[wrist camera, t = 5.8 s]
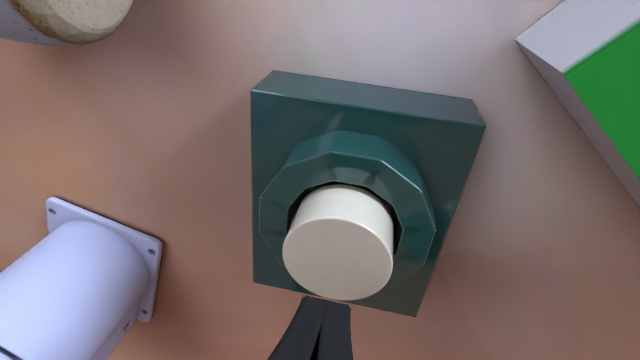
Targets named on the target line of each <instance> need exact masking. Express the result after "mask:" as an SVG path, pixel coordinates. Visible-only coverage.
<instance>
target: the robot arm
mask: <svg viewBox="0 0 640 360" xmlns="http://www.w3.org/2000/svg"><path fill="white" fill-rule="evenodd" d="M45 206H46V216H47V225H48V234H49V235H48V236H46V237H45V238H44V239H42V240H41V241H40V242H39V243H37V244H36V245H35V246H34V247H32V248H31V249H30V250H28V251H27V252H26V253H25V254H23V255H22V256H21V257H20V258H18V259H17V260H16V261H14V262H13V263H12V264H11V265H9V266H8V267H7V268H6V269H4V270H3V271H2V272H0V360H107V358H108V357H109V356H110V354H111V353H112V351H113V350H114V349H115V347H116V346H117V345H118V343H119V342H120V341H121V339H122V338H123V336H124V335H125V334H126V332H127V331H128V330H129V328H130V327H131V326H132V324H133V323H134V321H135V320H139V321H141V322H144V323H148V322H149V321H150V320H151V318H152V313H153V307H154V300H155V293H156V287H157V280H158V274H159V267H160V261H161V254H162V248H163V245H162V243H161V241H160V240H158V239H156V238H154V237H151V236H149V235H146V234H144V233H141V232H139V231H136V230H134V229H132V228H129V227H127V226H124V225H122V224H119V223H117V222H114V221H112V220H109V219H107V218H105V217H102V216H100V215H97V214H95V213H92V212H90V211H87V210H85V209H82V208H80V207H78V206H75V205H73V204H70V203H68V202H65V201H63V200H60V199H58V198H55V197H50V198H49V199H47V200H46V201H45ZM350 313H351V308H350V307H349V306H348V305H346V304H341V303H337V302H332V301H328V300H323V299H318V298H314V297H309V296H306V297H303V298H302V300H301V303H300V305H299V307H298V309H297V311H296V313H295V315H294V317H293V319H292V321H291V323H290V325H289V326H288V328H287V330H286V331H285V333H284V335H283V336H282V338H281V340H280V341H279V343H278V344H277V346H276V347H275V349H274V350H273V352H272V353H271V355H270V357H269V358H268V360H353V354H352V344H351V329H350Z"/></svg>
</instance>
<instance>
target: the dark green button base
mask: <svg viewBox="0 0 640 360" xmlns="http://www.w3.org/2000/svg"><path fill="white" fill-rule="evenodd" d="M485 129H486V125H485V123H484V121H483V119H482V117H481V115H480V113H479V111H478V109H477V107H476V105H475V103H474V102H473V100H472V99H466V98H459V97H452V96H445V95H439V94H432V93H425V92H418V91H411V90H405V89H398V88H391V87H384V86H377V85H371V84H364V83H357V82H350V81H343V80H337V79H330V78H323V77H316V76H309V75H302V74H296V73H289V72H282V71H275V70H273V71H272V72H270V73H269V74H268V75H267V76H266V77H265V78H264V79H262V80H261V81H260V82H259V83H258V84H257V85H256V86H254V87H253V88H252V89H251V156H252V229H253V282H254V283H259V284H264V285H268V286H273V287H278V288H282V289H287V290H292V291H296V292H301V293H305V294H310V295H315V296H319V295H316V294H314V293H312V292H310V291H308V290H307V289H305V288H304V287H302V286H301V285H300V284H298V283H297V282H296V281H295V280H294V279H293V278H292V276H291V275H290V274H289V272H288V270H287V269H286V267H285V264H284V261H283V256H282V248H283V243H284V240H285V238H286V235H287V233H288V230H289V228H290V225H291V223H292V221H293V218H294V216H295V213H296V211H297V208H298V206H299V204H300V203H301V201H302V200H303V199H304V198H305V197H306V196H307V195H308V194H310V193H311V192H312V191H314V190H316V189H318V188H321V187H324V186H328V185H335V184H344V185H351V186H355V187H359V188H362V189H364V190H366V191H368V192H370V193H372V194H373V195H375V196H376V197H377V198H378V199H380V200H381V201H382V202H383V203H384V205H385V206H386V207H387V209H388V210H389V212H390V214H391V216H392V219H393V224H394V244H393V270H392V274H391V276H390V279H389V280H388V282H387V283H386V284H385V286H384V287H383V288H382V289H380V290H379V291H378V292H376V293H375V294H373V295H371V296H369V297H366V298H363V299H358V300H350V301H343V302H347V303H352V304H357V305H361V306H366V307H370V308H375V309H380V310H384V311H389V312H394V313H398V314H403V315H408V316H412V317H416V316H417V314H418V311H419V308H420V305H421V303H422V300H423V297H424V295H425V292H426V289H427V286H428V284H429V281H430V278H431V275H432V273H433V270H434V267H435V265H436V262H437V259H438V256H439V254H440V251H441V248H442V246H443V243H444V240H445V237H446V235H447V232H448V229H449V227H450V224H451V221H452V218H453V216H454V213H455V210H456V208H457V205H458V202H459V199H460V197H461V194H462V191H463V189H464V186H465V183H466V180H467V178H468V175H469V172H470V170H471V167H472V164H473V161H474V159H475V156H476V153H477V151H478V148H479V145H480V142H481V140H482V137H483V134H484V131H485ZM319 297H322V296H319ZM324 298H325V297H324ZM338 301H342V300H338Z"/></svg>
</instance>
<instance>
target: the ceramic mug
mask: <svg viewBox="0 0 640 360" xmlns="http://www.w3.org/2000/svg"><path fill="white" fill-rule="evenodd" d="M132 3H133V0H0V38H5V39H10V40H16V41H22V42H28V43H34V44H42V45H85V44H89V43H93V42H96V41H99V40H102V39H104V38H106V37H107V36H109V35H110V34H112V33H113V32H114V31H115V29H116V28H117V27H118V26H119V25H120V24H121V23H122V21H123V20H124V19H125V17H126V15H127V13H128V12H129V10H130V8H131V6H132Z"/></svg>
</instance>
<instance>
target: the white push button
mask: <svg viewBox="0 0 640 360" xmlns="http://www.w3.org/2000/svg"><path fill="white" fill-rule="evenodd" d="M393 244H394V224H393V219H392V216H391V214H390V212H389V210H388V209H387V207H386V206H385V205H384V203H383V202H382V201H381V200H380V199H378V198H377V197H376V196H375V195H373V194H372V193H370V192H368V191H366V190H364V189H362V188H359V187H355V186H351V185H344V184H335V185H328V186H324V187H321V188H318V189H316V190H314V191H312V192H311V193H310V194H308V195H307V196H306V197H305V198H304V199H303V200H302V201H301V203H300V204H299V206H298V208H297V211H296V213H295V216H294V218H293V221H292V223H291V225H290V228H289V230H288V233H287V235H286V238H285V240H284V243H283V248H282V256H283V261H284V264H285V267H286V269H287V270H288V272H289V274H290V275H291V276H292V278H293V279H294V280H295V281H296V282H297V283H298V284H300V285H301V286H302V287H304V288H305V289H307V290H308V291H310V292H312V293H314V294H316V295H319V296H322V297H325V298H328V299H333V300H342V301H350V300H358V299H363V298H366V297H369V296H371V295H373V294H375V293H376V292H378V291H379V290H380V289H382V288H383V287H384V286H385V284H386V283H387V282H388V280H389V279H390V276H391V274H392V270H393Z"/></svg>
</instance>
